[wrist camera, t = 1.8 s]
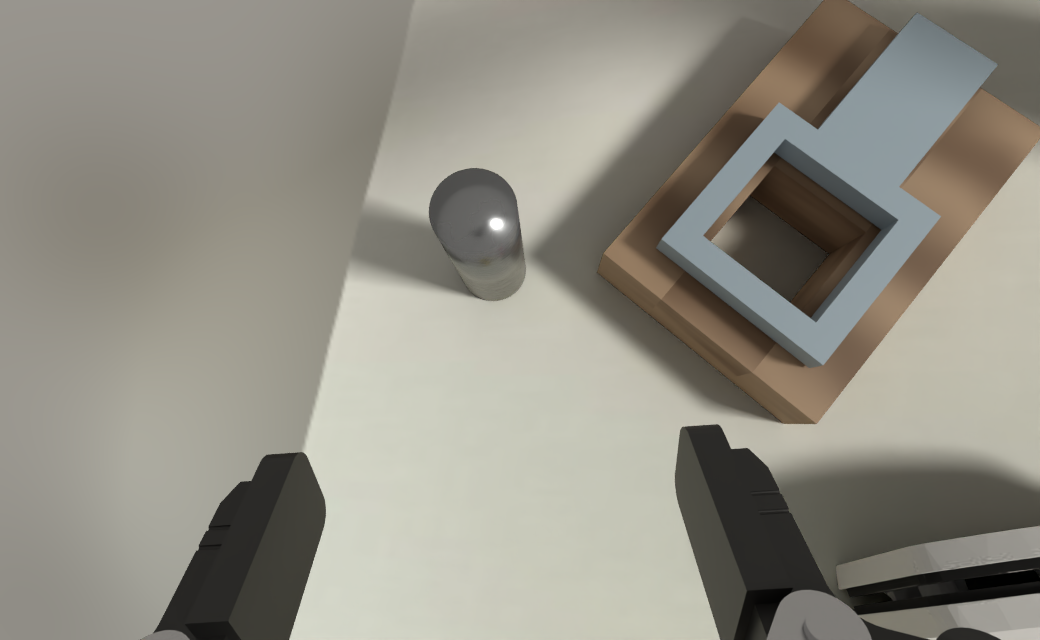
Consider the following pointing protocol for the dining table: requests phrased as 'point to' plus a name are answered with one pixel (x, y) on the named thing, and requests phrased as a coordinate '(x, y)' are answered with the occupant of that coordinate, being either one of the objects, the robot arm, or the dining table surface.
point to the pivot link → (842, 183)
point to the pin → (480, 231)
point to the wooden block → (812, 215)
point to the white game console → (951, 586)
